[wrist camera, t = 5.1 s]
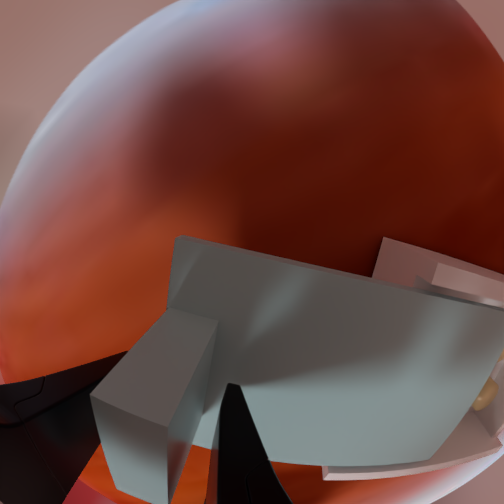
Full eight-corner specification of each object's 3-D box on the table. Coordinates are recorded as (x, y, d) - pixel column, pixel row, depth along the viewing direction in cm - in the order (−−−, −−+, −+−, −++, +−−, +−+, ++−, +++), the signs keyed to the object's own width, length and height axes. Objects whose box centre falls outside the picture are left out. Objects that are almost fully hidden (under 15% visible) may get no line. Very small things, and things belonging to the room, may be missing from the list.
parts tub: (471, 413, 14) (497, 452, 9) (316, 414, 14) (323, 479, 9) (533, 285, 11) (578, 309, 6) (383, 236, 12) (438, 262, 7)
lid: (425, 452, 10) (452, 518, 5) (164, 425, 10) (123, 509, 5) (510, 309, 8) (582, 360, 3) (182, 235, 8) (73, 285, 4)
